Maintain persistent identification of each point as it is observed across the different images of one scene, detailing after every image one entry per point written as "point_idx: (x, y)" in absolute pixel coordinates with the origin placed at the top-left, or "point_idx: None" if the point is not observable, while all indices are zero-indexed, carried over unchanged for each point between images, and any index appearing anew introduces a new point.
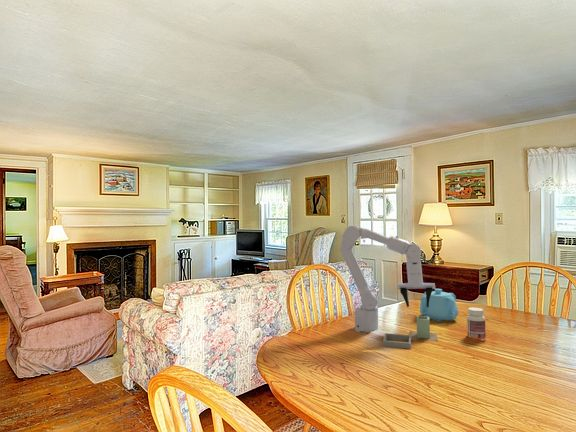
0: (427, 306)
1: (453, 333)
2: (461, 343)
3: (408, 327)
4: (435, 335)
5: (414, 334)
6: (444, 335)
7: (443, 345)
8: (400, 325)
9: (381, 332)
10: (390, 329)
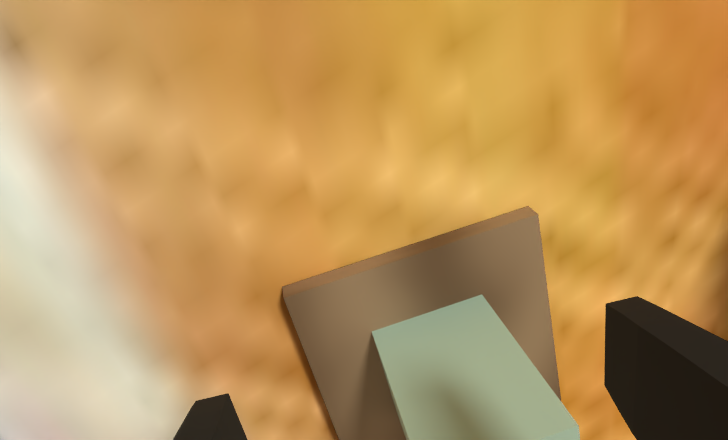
0: (624, 395)
1: (676, 38)
2: (709, 286)
3: (177, 84)
4: (532, 280)
5: (355, 359)
6: (592, 160)
7: (587, 396)
8: (37, 48)
9: (23, 419)
10: (36, 284)
